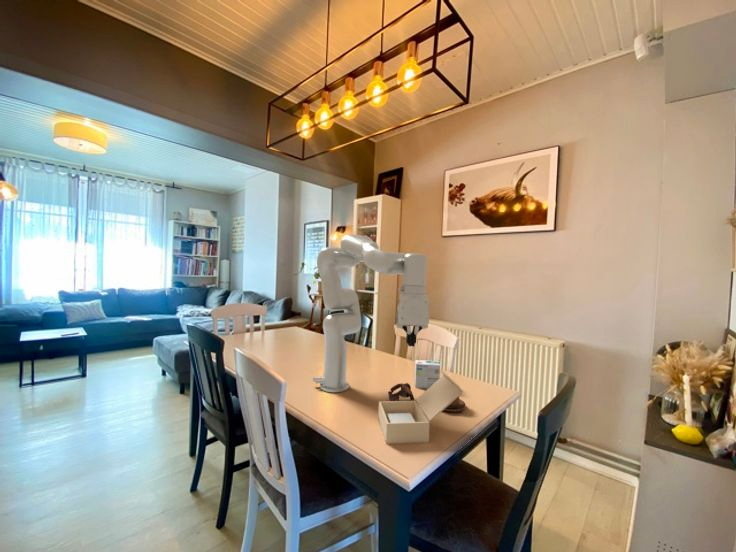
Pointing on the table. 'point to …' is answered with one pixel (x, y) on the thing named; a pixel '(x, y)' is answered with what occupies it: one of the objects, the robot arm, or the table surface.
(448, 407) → the cup and saucer
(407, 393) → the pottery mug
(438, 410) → the lid
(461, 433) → the table surface
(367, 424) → the table surface
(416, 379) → the light bulb box
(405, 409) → the box
